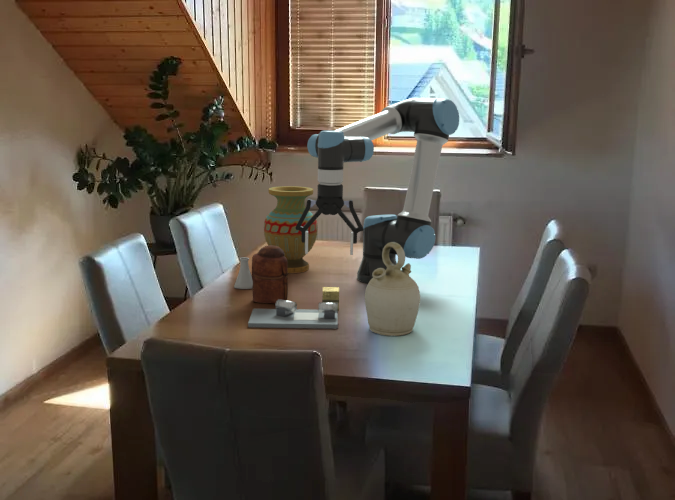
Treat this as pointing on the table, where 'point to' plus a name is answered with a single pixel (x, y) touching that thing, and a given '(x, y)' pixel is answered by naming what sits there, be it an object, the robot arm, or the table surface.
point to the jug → (392, 296)
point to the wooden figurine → (269, 275)
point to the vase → (290, 225)
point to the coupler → (331, 295)
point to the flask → (244, 275)
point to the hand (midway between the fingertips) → (329, 253)
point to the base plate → (291, 319)
